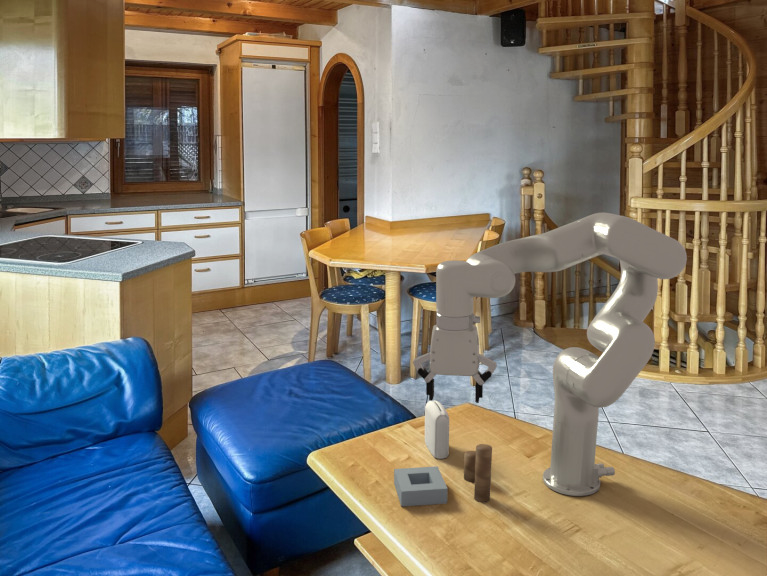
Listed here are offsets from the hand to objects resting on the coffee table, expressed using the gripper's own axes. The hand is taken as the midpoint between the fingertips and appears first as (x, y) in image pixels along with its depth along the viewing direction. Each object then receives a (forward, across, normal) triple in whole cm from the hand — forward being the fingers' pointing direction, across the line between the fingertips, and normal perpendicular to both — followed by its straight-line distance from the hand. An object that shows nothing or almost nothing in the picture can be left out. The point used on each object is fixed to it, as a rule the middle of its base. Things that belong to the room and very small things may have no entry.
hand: (454, 399), depth 144 cm
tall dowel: (+23, -6, -1) cm, 24 cm away
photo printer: (+23, +6, -22) cm, 33 cm away
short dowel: (+23, -3, -9) cm, 25 cm away
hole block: (+23, +8, 0) cm, 24 cm away
